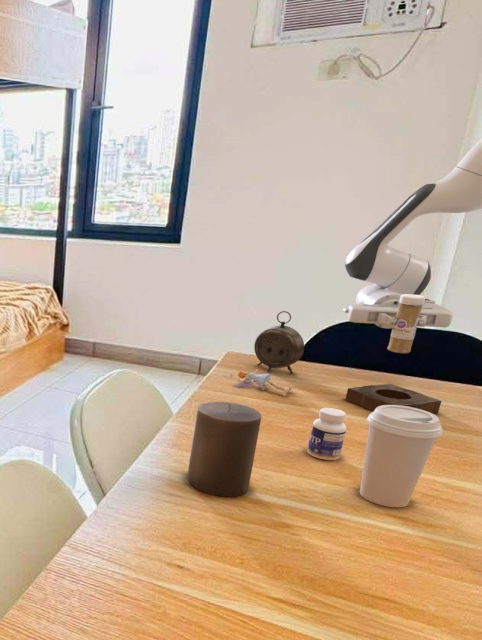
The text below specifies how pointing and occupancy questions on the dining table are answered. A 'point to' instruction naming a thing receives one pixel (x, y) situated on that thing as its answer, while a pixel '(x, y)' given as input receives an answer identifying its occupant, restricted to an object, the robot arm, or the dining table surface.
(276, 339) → the alarm clock
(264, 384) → the fairy figurine
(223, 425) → the pillar candle
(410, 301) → the sprinkles bottle
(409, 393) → the holder base
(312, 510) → the dining table surface
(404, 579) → the dining table surface
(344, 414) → the pill bottle
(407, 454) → the coffee cup
